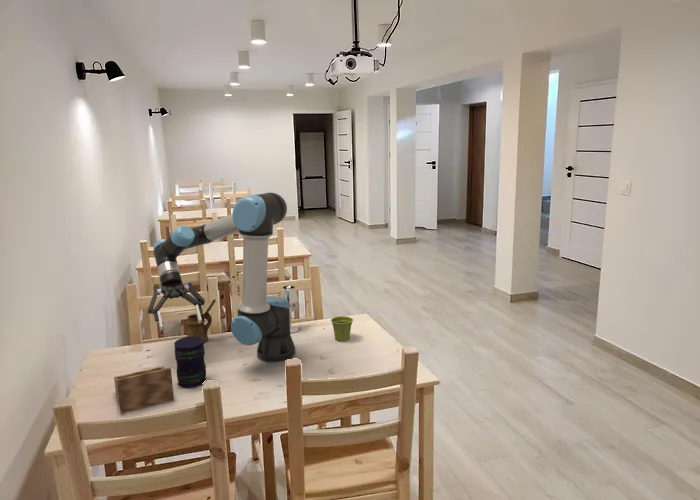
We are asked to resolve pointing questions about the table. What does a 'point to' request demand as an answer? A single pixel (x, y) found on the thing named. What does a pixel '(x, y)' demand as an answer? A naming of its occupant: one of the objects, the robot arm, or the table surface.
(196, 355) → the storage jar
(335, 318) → the plant pot
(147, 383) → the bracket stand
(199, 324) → the wooden mug
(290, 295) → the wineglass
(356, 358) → the table surface
